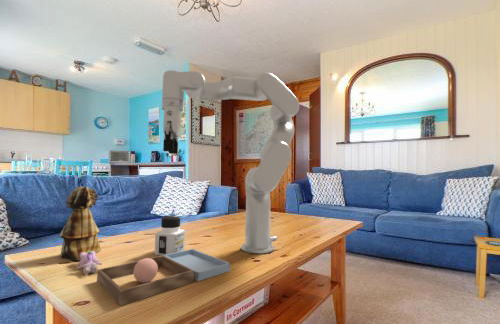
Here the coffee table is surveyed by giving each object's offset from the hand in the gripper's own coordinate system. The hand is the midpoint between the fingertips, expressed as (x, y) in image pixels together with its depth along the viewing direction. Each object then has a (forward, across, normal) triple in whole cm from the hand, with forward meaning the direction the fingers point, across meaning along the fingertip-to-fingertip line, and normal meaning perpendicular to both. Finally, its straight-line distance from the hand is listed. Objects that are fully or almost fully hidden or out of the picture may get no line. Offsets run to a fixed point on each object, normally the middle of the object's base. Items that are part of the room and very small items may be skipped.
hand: (170, 152), depth 95 cm
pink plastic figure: (+37, -13, +20) cm, 44 cm away
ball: (+36, -24, +1) cm, 44 cm away
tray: (+36, -14, -11) cm, 40 cm away
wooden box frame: (+36, -24, +1) cm, 44 cm away
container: (+36, +1, -1) cm, 37 cm away
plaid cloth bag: (+37, 0, +30) cm, 47 cm away
